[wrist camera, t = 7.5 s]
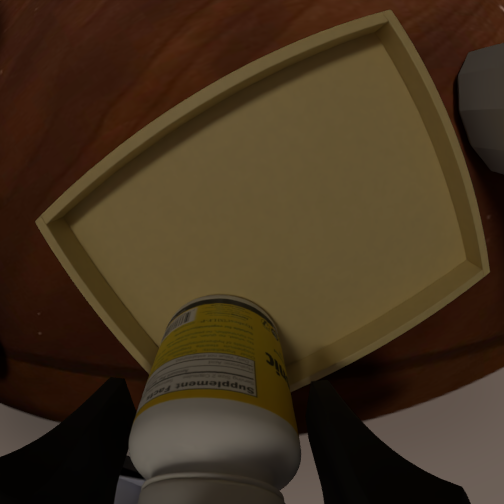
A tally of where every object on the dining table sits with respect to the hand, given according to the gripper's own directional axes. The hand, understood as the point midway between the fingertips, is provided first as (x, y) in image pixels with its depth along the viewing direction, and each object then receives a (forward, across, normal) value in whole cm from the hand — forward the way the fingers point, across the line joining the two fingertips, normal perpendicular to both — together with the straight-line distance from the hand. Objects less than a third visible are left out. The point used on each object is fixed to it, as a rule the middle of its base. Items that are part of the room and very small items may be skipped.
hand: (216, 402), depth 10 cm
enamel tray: (+5, -3, -5) cm, 7 cm away
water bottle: (+5, -15, -13) cm, 20 cm away
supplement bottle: (+4, 0, 0) cm, 4 cm away
